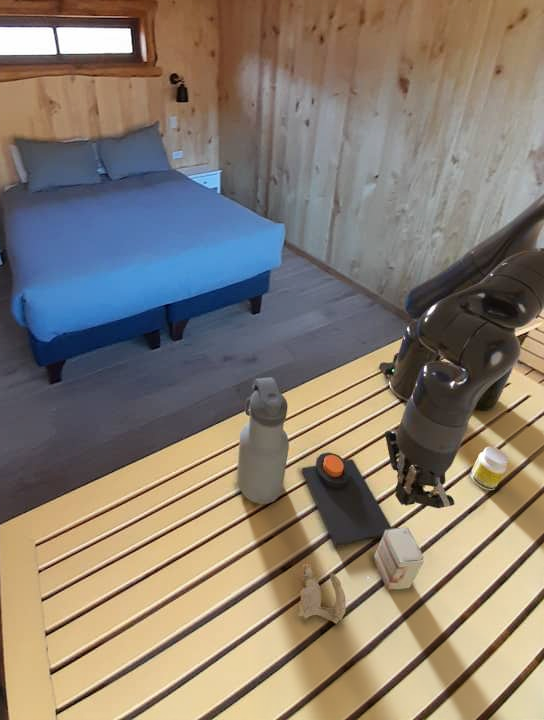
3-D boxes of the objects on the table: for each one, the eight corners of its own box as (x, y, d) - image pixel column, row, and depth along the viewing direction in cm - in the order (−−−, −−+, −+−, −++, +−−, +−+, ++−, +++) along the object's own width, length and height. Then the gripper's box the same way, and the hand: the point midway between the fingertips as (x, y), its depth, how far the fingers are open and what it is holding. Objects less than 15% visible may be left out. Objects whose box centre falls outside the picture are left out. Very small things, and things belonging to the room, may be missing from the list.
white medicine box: (372, 557, 74) (383, 527, 70) (394, 555, 75) (408, 525, 70) (386, 592, 70) (400, 562, 65) (410, 589, 70) (426, 560, 65)
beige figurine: (275, 587, 69) (307, 548, 67) (297, 577, 73) (327, 541, 71) (310, 648, 63) (346, 608, 60) (331, 634, 67) (366, 596, 64)
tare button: (319, 461, 88) (320, 456, 88) (336, 458, 89) (337, 453, 88) (328, 479, 85) (329, 474, 84) (345, 475, 85) (347, 470, 85)
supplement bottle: (500, 493, 84) (515, 468, 80) (475, 488, 85) (488, 463, 81) (489, 471, 88) (503, 446, 85) (466, 467, 89) (478, 442, 85)
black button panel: (298, 465, 90) (300, 457, 89) (347, 457, 92) (350, 448, 91) (334, 547, 76) (337, 539, 74) (392, 535, 78) (395, 526, 76)
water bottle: (232, 461, 91) (238, 371, 79) (274, 457, 92) (286, 367, 79) (242, 508, 82) (250, 415, 69) (288, 503, 83) (305, 410, 70)
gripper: (492, 466, 53) (454, 539, 60) (422, 388, 64) (398, 458, 72) (442, 476, 51) (410, 549, 59) (380, 395, 63) (359, 465, 71)
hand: (403, 499), depth 66 cm, fingers closed
